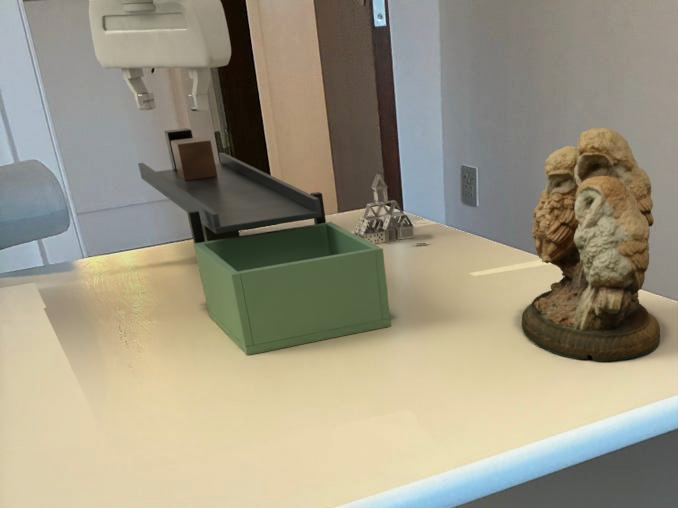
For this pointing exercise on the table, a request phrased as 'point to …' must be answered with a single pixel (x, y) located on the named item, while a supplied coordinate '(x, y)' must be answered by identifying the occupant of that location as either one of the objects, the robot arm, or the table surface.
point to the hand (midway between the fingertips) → (173, 110)
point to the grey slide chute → (232, 194)
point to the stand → (205, 234)
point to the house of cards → (384, 221)
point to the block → (194, 158)
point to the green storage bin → (293, 286)
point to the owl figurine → (594, 252)
